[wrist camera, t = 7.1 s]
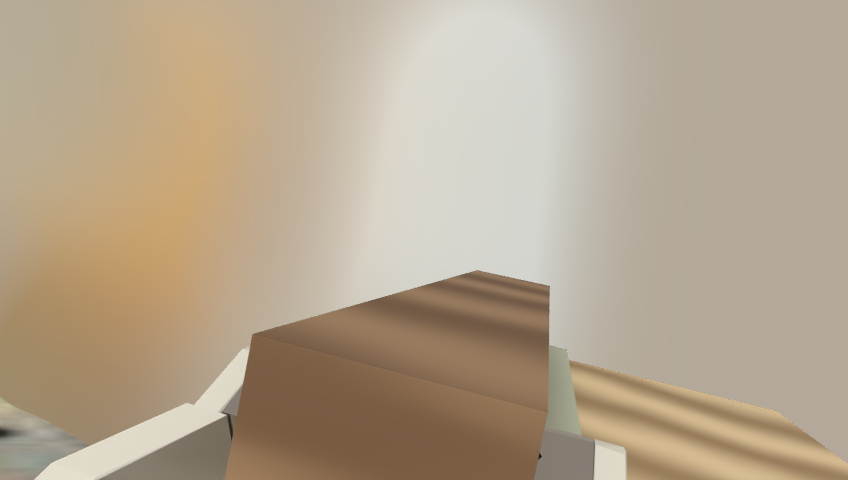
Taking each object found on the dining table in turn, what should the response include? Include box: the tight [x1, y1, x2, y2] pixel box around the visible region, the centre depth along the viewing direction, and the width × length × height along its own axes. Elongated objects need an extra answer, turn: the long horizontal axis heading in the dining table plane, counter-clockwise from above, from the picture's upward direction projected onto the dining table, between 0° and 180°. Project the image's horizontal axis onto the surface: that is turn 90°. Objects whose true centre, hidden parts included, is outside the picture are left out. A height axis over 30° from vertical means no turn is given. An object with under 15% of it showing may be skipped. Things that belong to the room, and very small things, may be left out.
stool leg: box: [224, 271, 550, 480], centre depth 20 cm, size 26×4×4 cm, turn 167°
